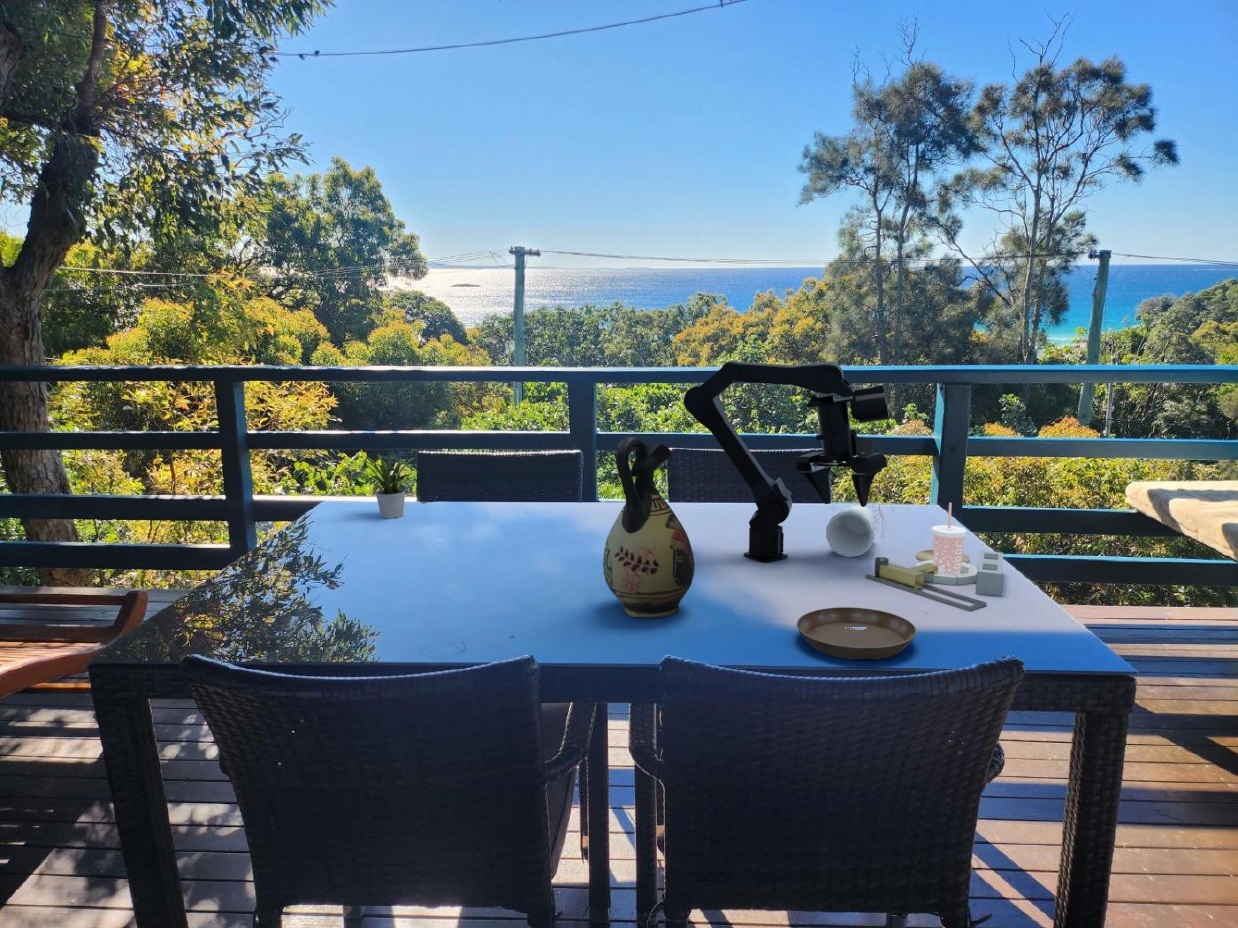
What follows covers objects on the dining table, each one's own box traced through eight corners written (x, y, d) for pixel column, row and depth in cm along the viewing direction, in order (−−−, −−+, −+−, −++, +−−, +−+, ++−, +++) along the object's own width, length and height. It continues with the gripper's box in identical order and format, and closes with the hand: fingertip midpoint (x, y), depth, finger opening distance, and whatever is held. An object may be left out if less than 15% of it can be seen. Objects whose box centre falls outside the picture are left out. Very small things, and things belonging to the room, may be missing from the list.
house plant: (345, 521, 218) (340, 454, 215) (376, 508, 231) (372, 445, 228) (397, 524, 214) (393, 457, 211) (426, 511, 227) (422, 447, 224)
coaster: (947, 568, 174) (947, 566, 174) (905, 556, 182) (905, 554, 182) (979, 559, 179) (979, 558, 179) (937, 548, 187) (937, 546, 187)
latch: (914, 589, 161) (915, 571, 161) (871, 575, 169) (872, 558, 169) (944, 581, 166) (945, 563, 165) (901, 568, 174) (901, 551, 173)
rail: (969, 611, 151) (970, 607, 151) (865, 577, 169) (865, 574, 169) (986, 605, 153) (986, 602, 153) (881, 573, 172) (881, 570, 172)
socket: (910, 586, 164) (911, 564, 163) (918, 564, 177) (919, 543, 176) (1000, 595, 158) (1001, 573, 157) (1001, 572, 171) (1003, 551, 170)
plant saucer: (774, 632, 143) (775, 614, 143) (868, 617, 149) (869, 599, 149) (839, 675, 127) (839, 654, 127) (941, 655, 133) (942, 636, 133)
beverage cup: (942, 581, 166) (946, 507, 164) (922, 572, 172) (926, 500, 169) (970, 578, 168) (975, 505, 165) (950, 569, 174) (954, 498, 171)
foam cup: (869, 548, 194) (859, 565, 182) (830, 527, 196) (818, 542, 185) (890, 511, 190) (881, 525, 179) (850, 490, 193) (839, 503, 181)
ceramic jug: (640, 589, 165) (639, 426, 159) (712, 606, 155) (712, 433, 149) (578, 615, 152) (574, 439, 146) (651, 636, 142) (650, 447, 136)
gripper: (900, 418, 172) (911, 497, 174) (827, 420, 187) (837, 493, 189) (861, 429, 166) (872, 511, 168) (789, 430, 181) (800, 506, 183)
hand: (845, 505), depth 177 cm, fingers open, 9 cm apart
